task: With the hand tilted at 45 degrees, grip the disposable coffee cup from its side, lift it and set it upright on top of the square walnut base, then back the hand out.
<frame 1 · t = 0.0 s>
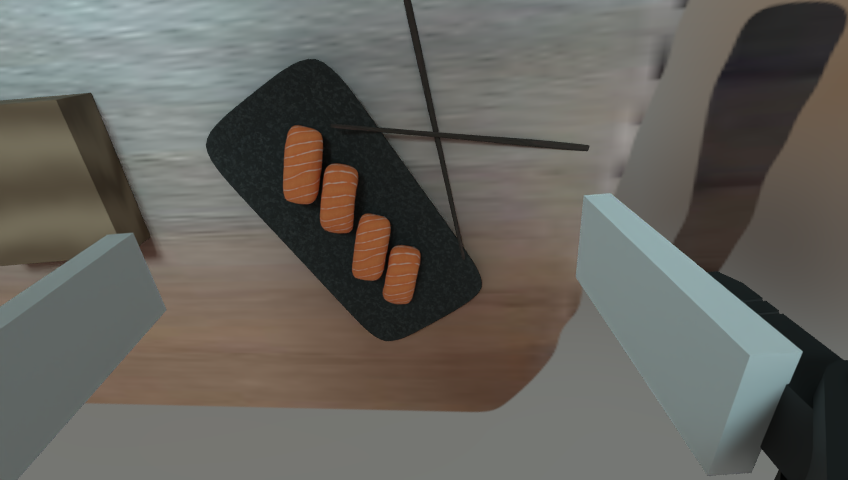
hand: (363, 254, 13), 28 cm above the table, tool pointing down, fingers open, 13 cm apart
walnut base: (49, 176, 40), on the table
sushi plate: (420, 173, 41), on the table
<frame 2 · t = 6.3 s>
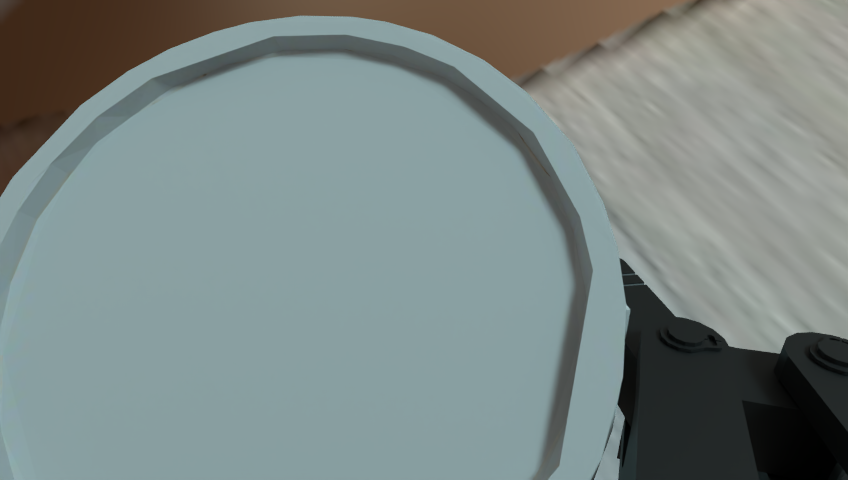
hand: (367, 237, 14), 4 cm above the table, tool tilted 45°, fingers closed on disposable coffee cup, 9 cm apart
disposable coffee cup: (388, 347, 17), on the table, touching gripper
when the fingers open (10 cm above the table, at t = 11.7 s): disposable coffee cup drops 1 cm, resting on walnut base.
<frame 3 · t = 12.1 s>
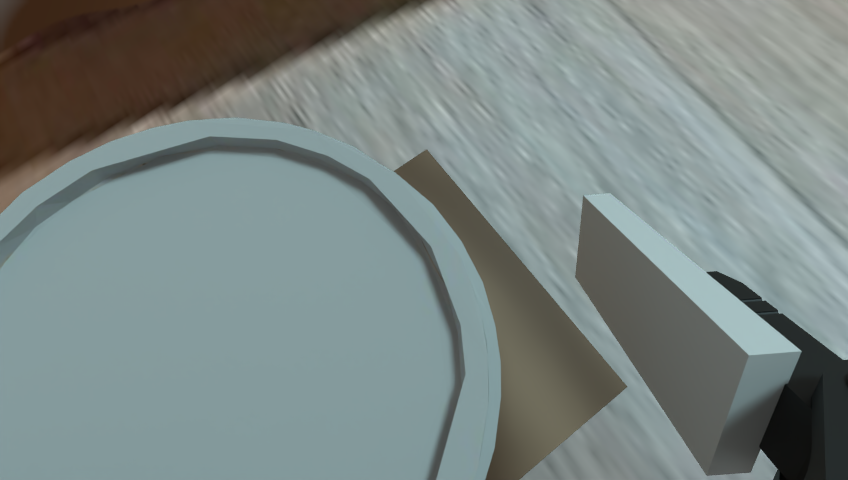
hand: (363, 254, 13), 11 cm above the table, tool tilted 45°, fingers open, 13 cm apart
walnut base: (400, 354, 22), on the table
disposable coffee cup: (329, 368, 18), point 4 cm above the table, touching gripper, walnut base
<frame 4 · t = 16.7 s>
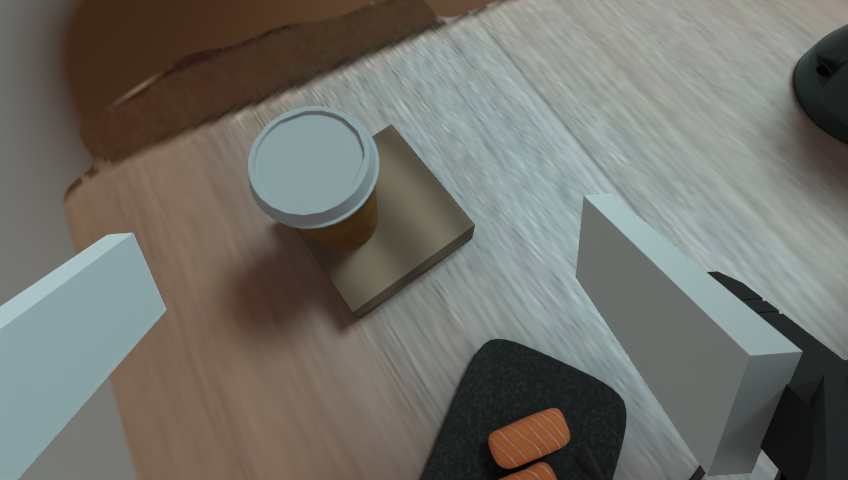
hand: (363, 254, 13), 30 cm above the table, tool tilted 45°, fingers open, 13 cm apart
walnut base: (379, 225, 45), on the table
disposable coffee cup: (346, 220, 41), point 4 cm above the table, touching walnut base
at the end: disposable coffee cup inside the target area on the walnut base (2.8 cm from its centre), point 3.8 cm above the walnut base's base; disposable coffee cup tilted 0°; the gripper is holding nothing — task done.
